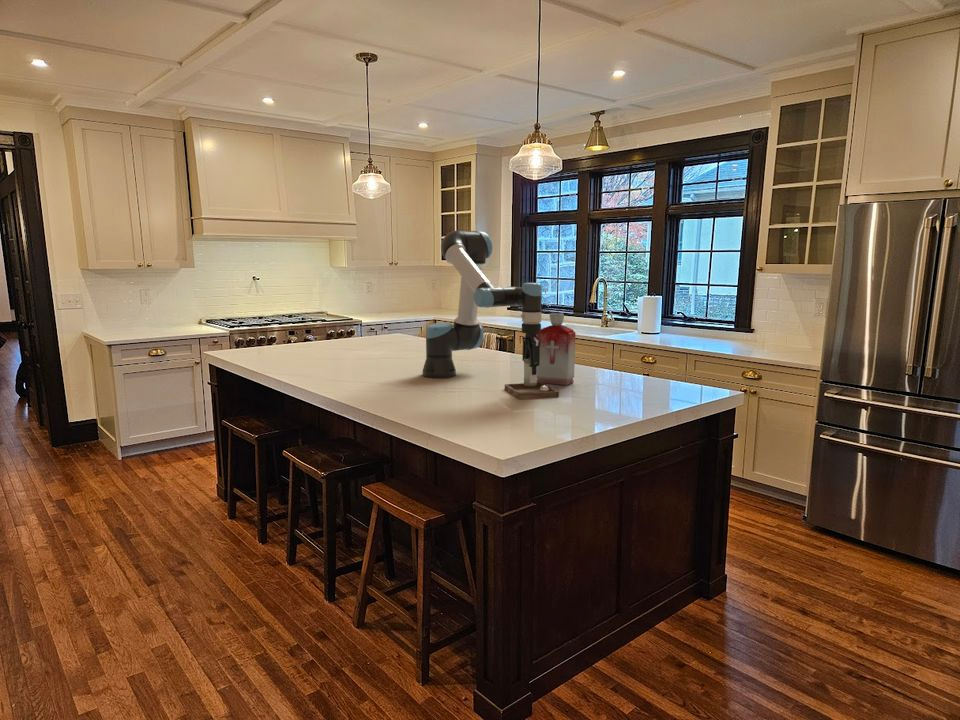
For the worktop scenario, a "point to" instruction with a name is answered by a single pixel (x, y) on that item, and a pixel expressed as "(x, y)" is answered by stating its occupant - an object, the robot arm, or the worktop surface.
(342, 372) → the worktop surface
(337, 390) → the worktop surface
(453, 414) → the worktop surface
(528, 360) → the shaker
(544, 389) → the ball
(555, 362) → the bottle
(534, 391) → the tray
